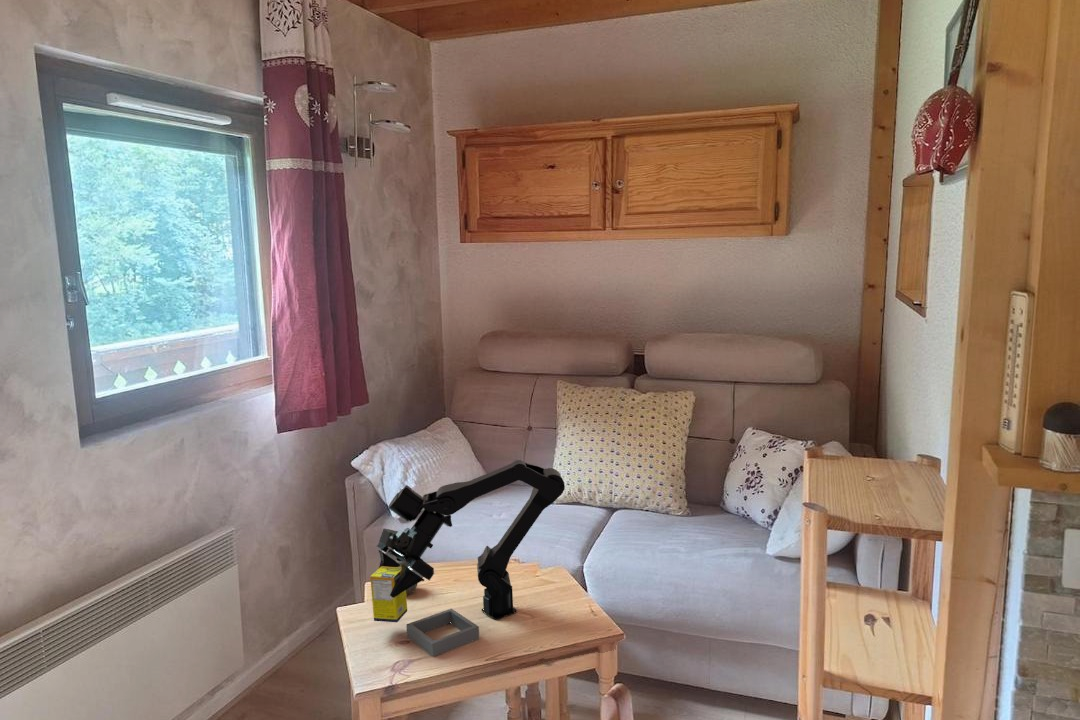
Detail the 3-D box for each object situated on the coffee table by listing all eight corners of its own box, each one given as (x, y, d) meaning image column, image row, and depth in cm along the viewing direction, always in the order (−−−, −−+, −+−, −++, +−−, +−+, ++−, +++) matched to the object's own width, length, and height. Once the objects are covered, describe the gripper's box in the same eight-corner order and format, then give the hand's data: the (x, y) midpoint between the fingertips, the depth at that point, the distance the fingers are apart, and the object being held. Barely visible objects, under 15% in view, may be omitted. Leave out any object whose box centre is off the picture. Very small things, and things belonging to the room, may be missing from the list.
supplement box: (407, 611, 175) (404, 566, 174) (397, 623, 169) (394, 577, 168) (384, 609, 177) (381, 565, 175) (373, 621, 171) (369, 575, 169)
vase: (413, 598, 191) (411, 566, 190) (388, 597, 193) (385, 564, 192) (422, 587, 198) (420, 555, 197) (398, 585, 199) (396, 554, 198)
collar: (452, 620, 179) (451, 608, 178) (479, 638, 169) (478, 626, 169) (407, 636, 171) (406, 624, 171) (432, 656, 162) (432, 643, 162)
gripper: (381, 505, 180) (341, 562, 174) (418, 525, 165) (376, 587, 160) (412, 529, 185) (375, 584, 180) (451, 549, 171) (411, 610, 165)
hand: (383, 590), depth 171 cm, fingers closed on supplement box, 8 cm apart
